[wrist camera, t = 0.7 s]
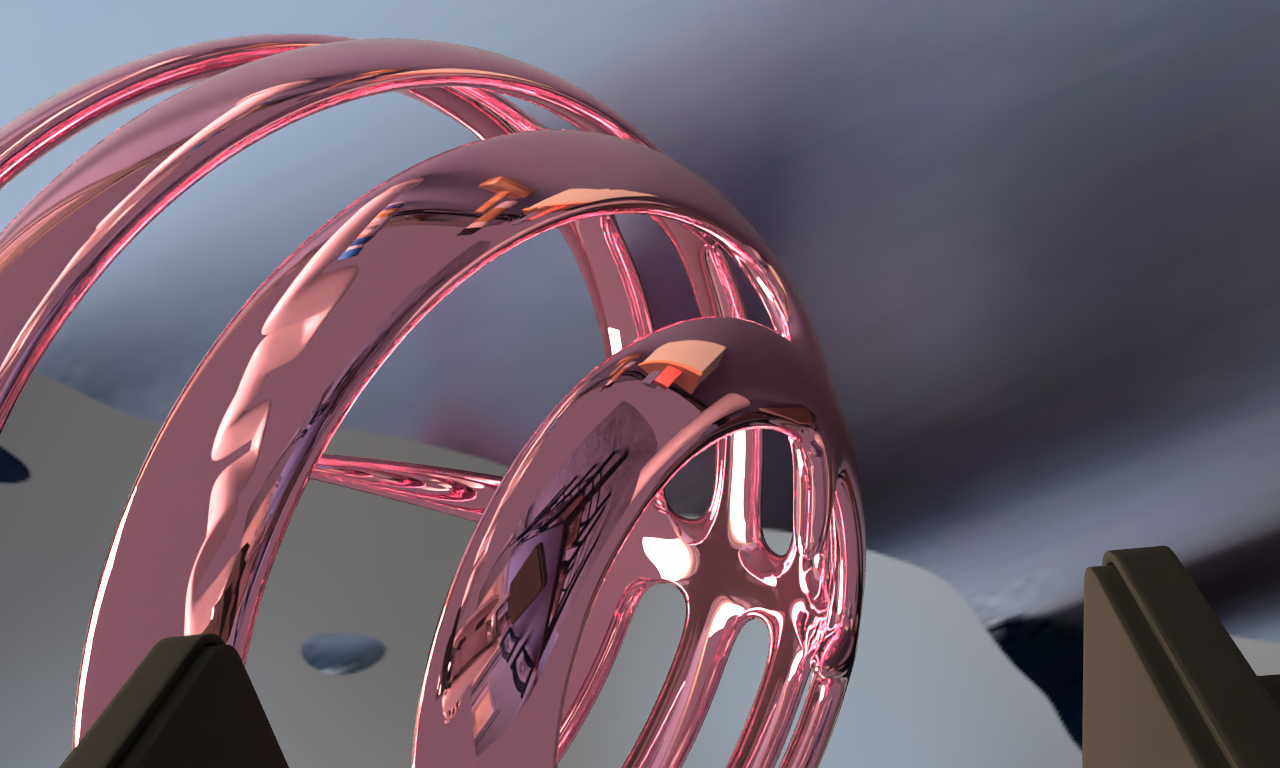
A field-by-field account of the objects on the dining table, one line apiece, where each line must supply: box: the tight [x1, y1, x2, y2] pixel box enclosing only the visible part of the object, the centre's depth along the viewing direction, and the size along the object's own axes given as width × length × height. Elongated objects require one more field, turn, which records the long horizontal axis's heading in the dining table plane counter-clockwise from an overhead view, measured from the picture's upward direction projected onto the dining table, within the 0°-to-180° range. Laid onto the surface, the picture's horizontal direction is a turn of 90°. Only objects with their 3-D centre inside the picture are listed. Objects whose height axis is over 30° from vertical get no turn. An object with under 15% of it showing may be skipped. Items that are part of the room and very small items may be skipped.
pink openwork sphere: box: [0, 34, 866, 768], centre depth 30 cm, size 28×28×27 cm
